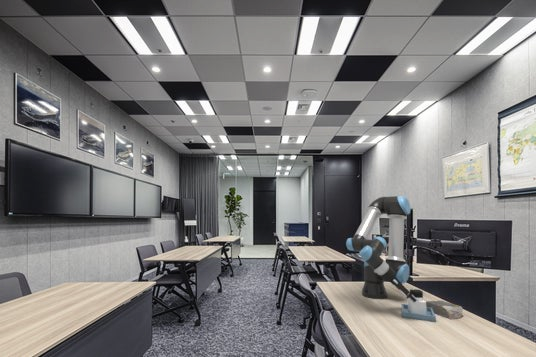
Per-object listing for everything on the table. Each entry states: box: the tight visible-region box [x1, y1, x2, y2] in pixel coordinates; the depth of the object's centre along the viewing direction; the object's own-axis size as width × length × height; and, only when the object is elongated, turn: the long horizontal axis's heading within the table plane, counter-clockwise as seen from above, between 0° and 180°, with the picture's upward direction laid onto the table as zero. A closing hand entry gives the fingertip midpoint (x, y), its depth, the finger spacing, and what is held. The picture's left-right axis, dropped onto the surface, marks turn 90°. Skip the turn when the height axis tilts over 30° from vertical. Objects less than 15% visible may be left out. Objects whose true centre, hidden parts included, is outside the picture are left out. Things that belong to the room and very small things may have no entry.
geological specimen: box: [426, 300, 464, 320], centre depth 152 cm, size 11×6×15 cm
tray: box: [400, 303, 437, 323], centre depth 149 cm, size 15×15×2 cm
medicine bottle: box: [407, 288, 427, 315], centre depth 150 cm, size 7×7×12 cm
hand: (415, 301), depth 150 cm, fingers open, 13 cm apart
